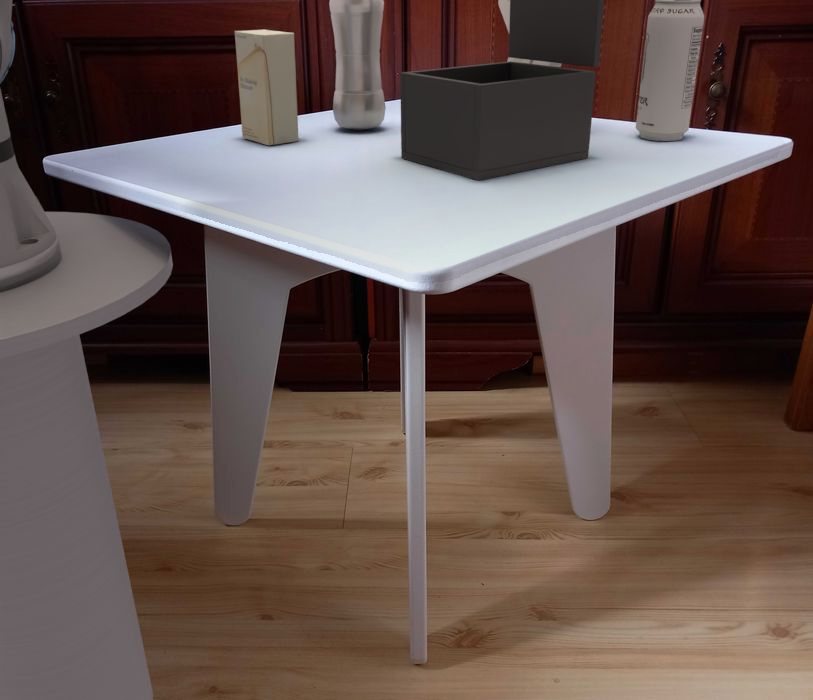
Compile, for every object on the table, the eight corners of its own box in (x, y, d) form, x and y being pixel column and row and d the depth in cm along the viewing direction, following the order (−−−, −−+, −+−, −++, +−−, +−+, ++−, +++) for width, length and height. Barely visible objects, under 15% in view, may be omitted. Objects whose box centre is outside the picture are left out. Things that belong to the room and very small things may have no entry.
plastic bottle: (349, 123, 106) (342, -47, 97) (395, 126, 103) (392, -47, 94) (323, 131, 101) (314, -47, 92) (371, 135, 98) (366, -48, 89)
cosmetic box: (241, 139, 97) (231, 30, 92) (272, 133, 100) (264, 28, 94) (270, 146, 93) (261, 33, 87) (302, 141, 95) (295, 31, 90)
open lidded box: (478, 180, 78) (481, 85, 74) (401, 158, 87) (400, 72, 83) (588, 158, 86) (596, 71, 82) (507, 139, 95) (510, 61, 91)
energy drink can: (638, 130, 99) (653, -2, 93) (689, 133, 97) (708, -2, 91) (631, 140, 94) (646, 0, 88) (684, 143, 92) (704, 1, 86)
